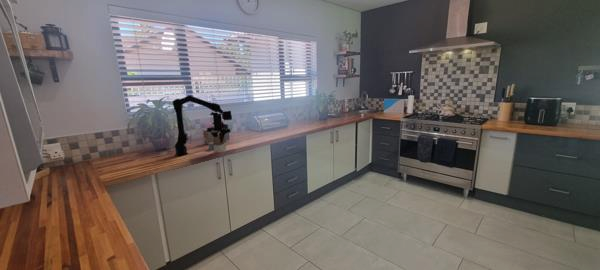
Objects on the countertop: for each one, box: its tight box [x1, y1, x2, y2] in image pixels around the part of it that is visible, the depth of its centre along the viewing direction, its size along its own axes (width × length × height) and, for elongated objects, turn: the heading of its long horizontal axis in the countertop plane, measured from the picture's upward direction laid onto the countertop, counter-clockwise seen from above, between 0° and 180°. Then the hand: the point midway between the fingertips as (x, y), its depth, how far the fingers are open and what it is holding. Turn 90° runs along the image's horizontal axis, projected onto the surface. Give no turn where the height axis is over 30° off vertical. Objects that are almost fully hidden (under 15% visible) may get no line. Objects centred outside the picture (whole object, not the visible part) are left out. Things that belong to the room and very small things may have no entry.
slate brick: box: [207, 142, 214, 151], centre depth 193 cm, size 8×4×5 cm, turn 136°
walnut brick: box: [213, 136, 227, 145], centre depth 186 cm, size 8×4×5 cm, turn 152°
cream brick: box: [213, 142, 227, 153], centre depth 187 cm, size 8×4×5 cm, turn 159°
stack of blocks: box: [202, 128, 230, 145], centre depth 214 cm, size 21×6×12 cm, turn 145°
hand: (219, 141), depth 186 cm, fingers open, 5 cm apart
